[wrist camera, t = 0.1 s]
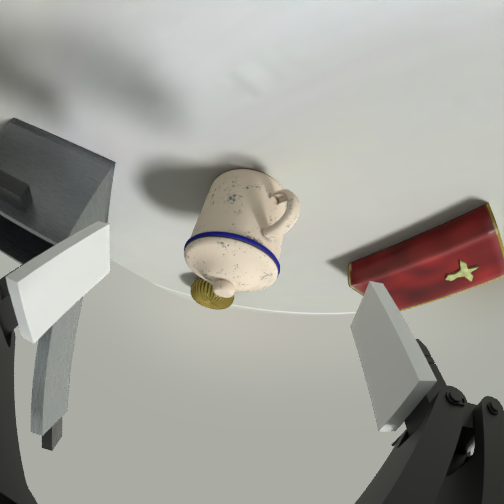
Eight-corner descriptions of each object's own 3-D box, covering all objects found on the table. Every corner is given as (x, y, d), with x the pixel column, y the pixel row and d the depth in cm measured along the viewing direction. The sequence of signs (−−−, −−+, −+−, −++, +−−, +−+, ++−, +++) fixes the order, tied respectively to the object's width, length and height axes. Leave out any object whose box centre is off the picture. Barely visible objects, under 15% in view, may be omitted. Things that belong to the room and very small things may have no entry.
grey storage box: (12, 101, 22) (-50, 168, 15) (118, 145, 27) (60, 232, 21) (30, 201, 41) (-1, 254, 34) (105, 239, 46) (78, 298, 40)
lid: (31, 460, 13) (43, 464, 14) (61, 247, 23) (72, 250, 24) (59, 427, 28) (66, 429, 28) (76, 296, 38) (83, 298, 38)
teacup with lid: (251, 232, 36) (230, 318, 30) (194, 191, 32) (157, 281, 26) (330, 194, 28) (324, 300, 22) (268, 134, 24) (238, 241, 18)
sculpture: (180, 297, 51) (203, 290, 45) (186, 278, 53) (210, 268, 48) (214, 315, 55) (240, 309, 49) (219, 296, 57) (245, 289, 52)
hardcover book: (348, 260, 38) (347, 287, 36) (486, 198, 23) (498, 228, 20) (389, 291, 43) (389, 315, 41) (503, 249, 28) (510, 275, 26)
